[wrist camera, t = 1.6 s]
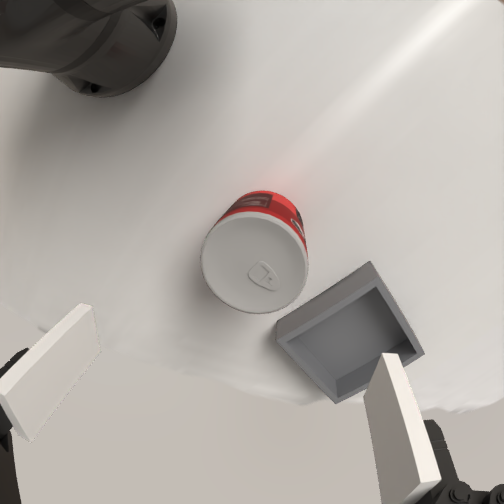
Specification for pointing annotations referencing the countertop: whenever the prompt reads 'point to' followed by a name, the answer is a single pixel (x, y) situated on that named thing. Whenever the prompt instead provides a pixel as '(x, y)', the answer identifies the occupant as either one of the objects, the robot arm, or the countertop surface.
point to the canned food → (256, 254)
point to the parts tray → (347, 334)
